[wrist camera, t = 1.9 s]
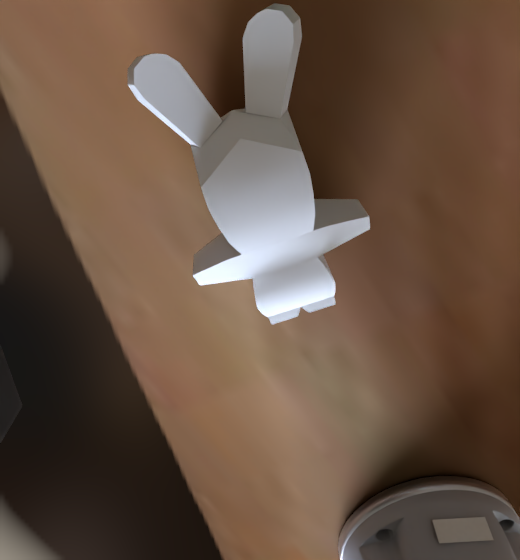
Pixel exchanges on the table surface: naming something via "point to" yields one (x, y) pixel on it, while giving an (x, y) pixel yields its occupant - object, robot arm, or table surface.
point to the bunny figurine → (255, 173)
